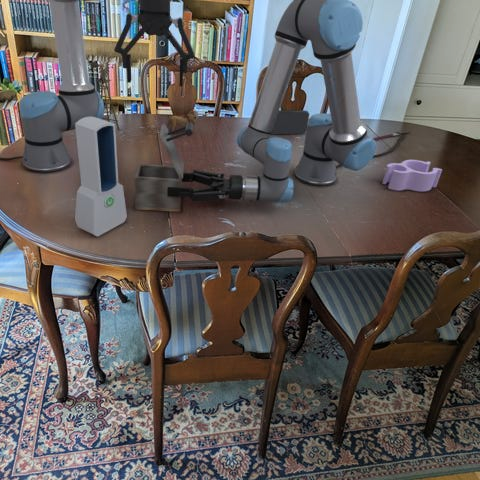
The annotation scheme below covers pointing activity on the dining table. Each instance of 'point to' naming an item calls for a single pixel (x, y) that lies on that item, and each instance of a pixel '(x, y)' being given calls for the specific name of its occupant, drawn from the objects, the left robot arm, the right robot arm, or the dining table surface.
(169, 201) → the chest
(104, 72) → the miniature windmill
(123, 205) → the electronic device
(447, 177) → the dining table surface
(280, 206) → the dining table surface
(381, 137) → the sword
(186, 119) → the lion figurine
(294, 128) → the handheld gaming console
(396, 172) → the clip
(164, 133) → the lid
